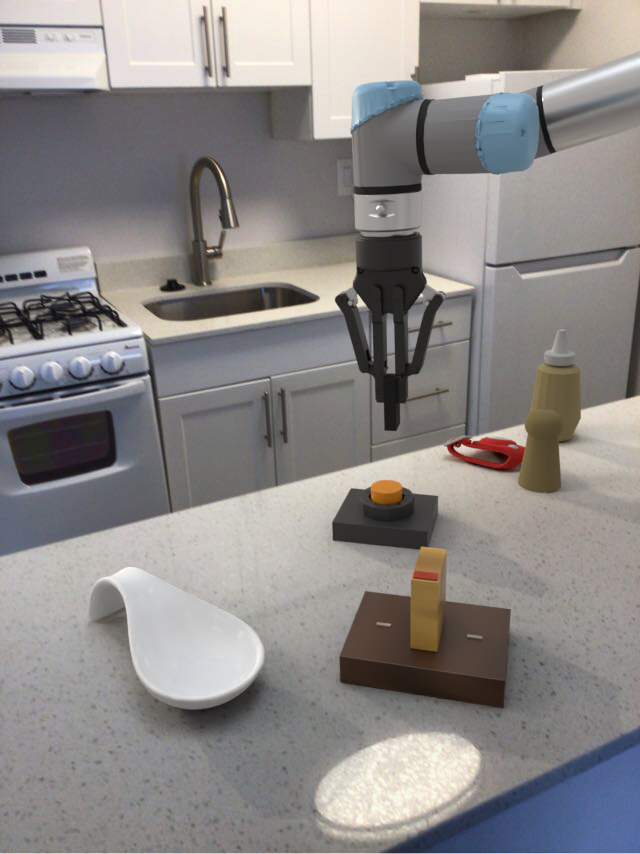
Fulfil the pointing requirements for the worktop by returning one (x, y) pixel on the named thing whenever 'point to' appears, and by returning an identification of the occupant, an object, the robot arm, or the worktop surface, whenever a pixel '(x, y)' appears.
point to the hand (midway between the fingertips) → (392, 426)
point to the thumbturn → (428, 598)
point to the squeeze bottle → (559, 385)
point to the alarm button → (386, 492)
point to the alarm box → (386, 520)
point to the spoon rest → (180, 640)
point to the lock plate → (427, 670)
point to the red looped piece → (489, 444)
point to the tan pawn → (541, 452)
